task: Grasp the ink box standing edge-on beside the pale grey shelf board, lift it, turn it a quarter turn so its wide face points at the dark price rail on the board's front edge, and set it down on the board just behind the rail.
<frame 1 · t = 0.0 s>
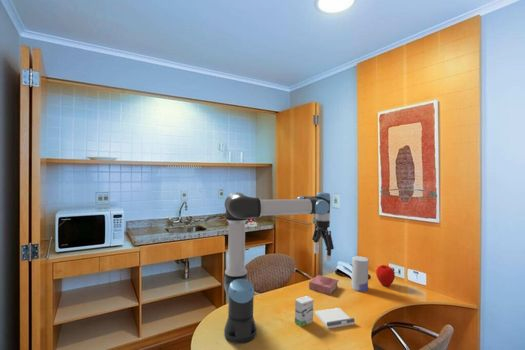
hand: (321, 257, 150), 28 cm above the table, fingers open, 13 cm apart
container: (359, 288, 174), on the table
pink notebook: (323, 289, 173), on the table
shelf board: (333, 318, 138), on the table
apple: (384, 285, 179), on the table
ink box: (303, 322, 134), on the table
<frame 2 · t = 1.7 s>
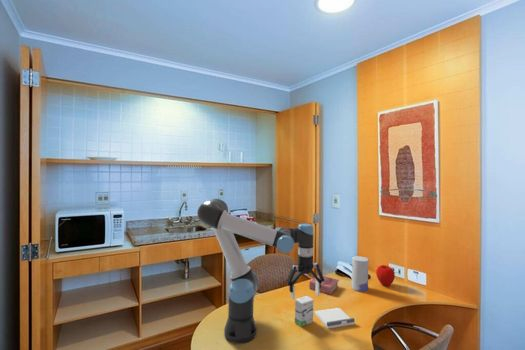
hand: (305, 296, 134), 13 cm above the table, fingers open, 13 cm apart
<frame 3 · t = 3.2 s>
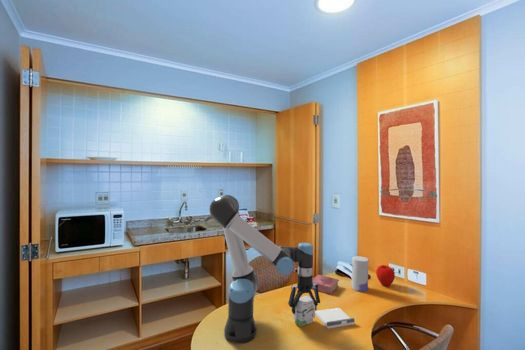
hand: (304, 318, 134), 2 cm above the table, fingers closed on ink box, 9 cm apart
ink box: (304, 322, 134), on the table, touching gripper
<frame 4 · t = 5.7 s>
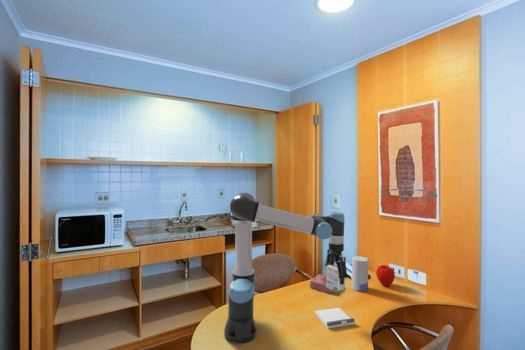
hand: (335, 285, 136), 18 cm above the table, fingers closed on ink box, 9 cm apart
ink box: (335, 290, 136), point 16 cm above the table, touching gripper
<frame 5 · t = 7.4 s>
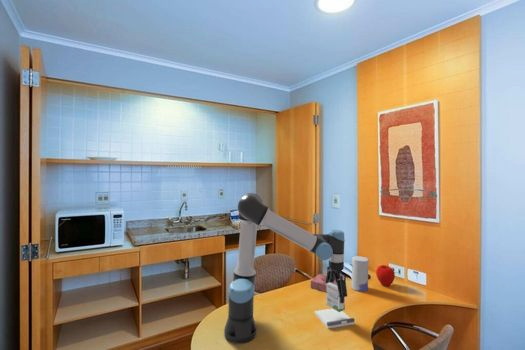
hand: (335, 303, 137), 8 cm above the table, fingers closed on ink box, 9 cm apart
ink box: (335, 307, 137), point 6 cm above the table, touching gripper
when the fingers open (4 cm above the table, at t = 8.8 s): ink box stays where it is, resting on shelf board.
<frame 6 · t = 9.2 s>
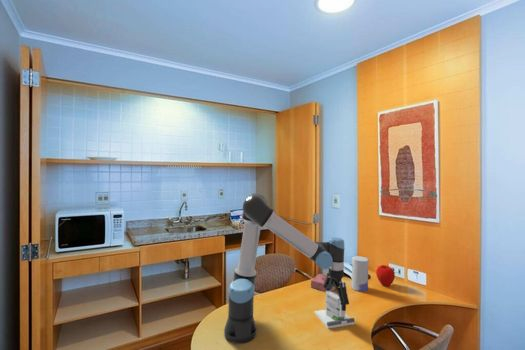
hand: (335, 309, 137), 6 cm above the table, fingers open, 13 cm apart
ink box: (334, 317, 137), point 1 cm above the table, touching shelf board
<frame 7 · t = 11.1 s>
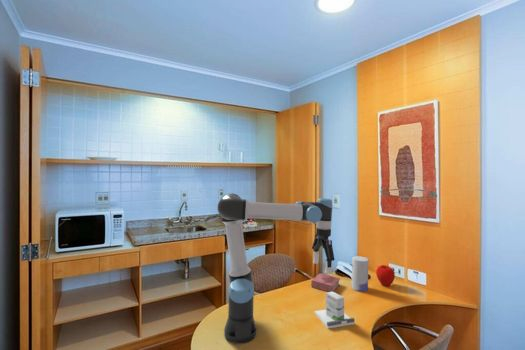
hand: (321, 268, 139), 26 cm above the table, fingers open, 13 cm apart
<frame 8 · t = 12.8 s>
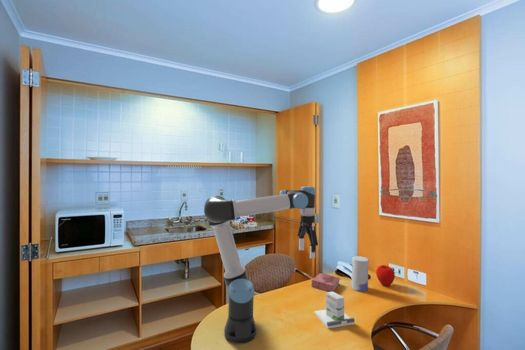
hand: (306, 253, 143), 32 cm above the table, fingers open, 13 cm apart
at the end: ink box inside the target area on the shelf board (0.5 cm from its centre), point 1.0 cm above the shelf board's base; ink box tilted 0°; the gripper is holding nothing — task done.
